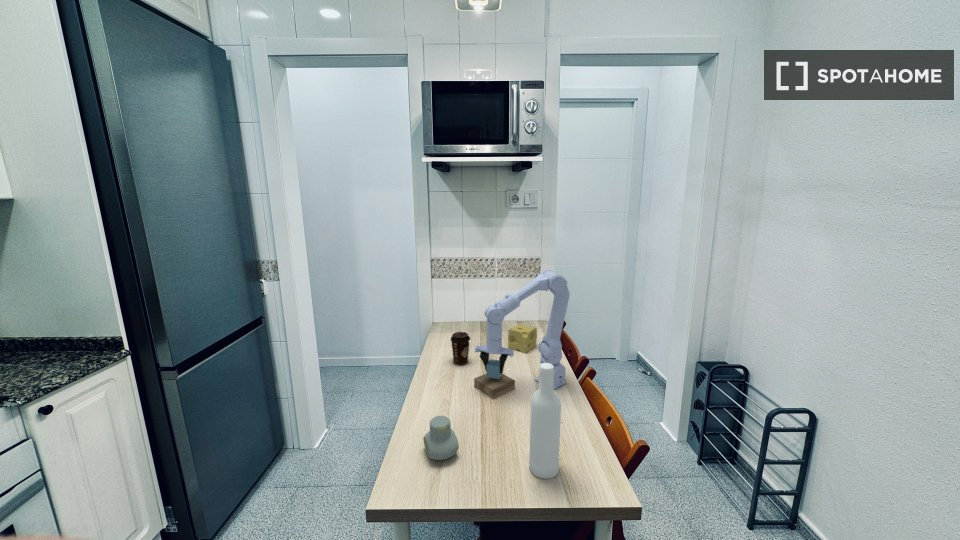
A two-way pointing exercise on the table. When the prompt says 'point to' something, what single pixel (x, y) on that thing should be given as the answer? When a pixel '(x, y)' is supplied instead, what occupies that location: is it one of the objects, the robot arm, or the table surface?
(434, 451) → the air freshener
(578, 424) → the table surface
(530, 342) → the cheese
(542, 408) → the bottle
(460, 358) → the coffee cup
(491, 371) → the teal cube
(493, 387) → the plate
